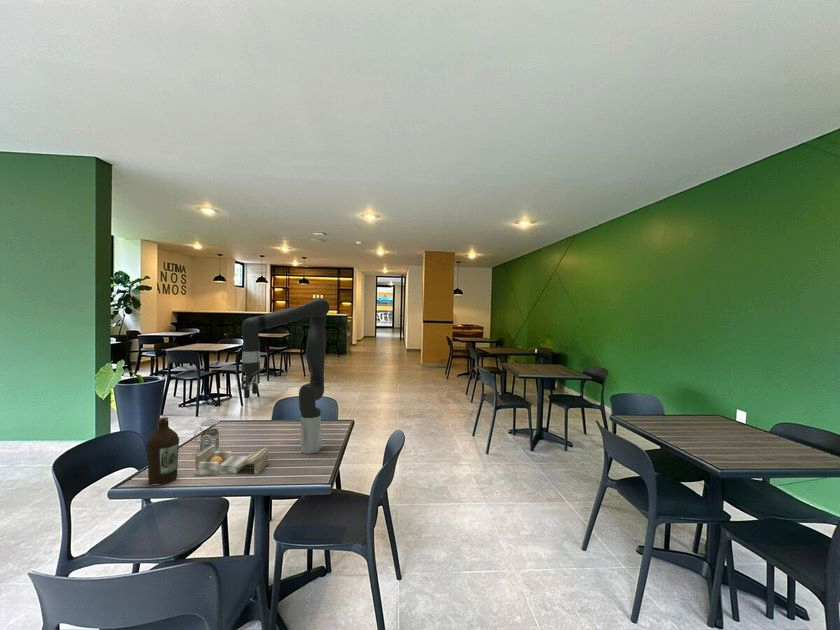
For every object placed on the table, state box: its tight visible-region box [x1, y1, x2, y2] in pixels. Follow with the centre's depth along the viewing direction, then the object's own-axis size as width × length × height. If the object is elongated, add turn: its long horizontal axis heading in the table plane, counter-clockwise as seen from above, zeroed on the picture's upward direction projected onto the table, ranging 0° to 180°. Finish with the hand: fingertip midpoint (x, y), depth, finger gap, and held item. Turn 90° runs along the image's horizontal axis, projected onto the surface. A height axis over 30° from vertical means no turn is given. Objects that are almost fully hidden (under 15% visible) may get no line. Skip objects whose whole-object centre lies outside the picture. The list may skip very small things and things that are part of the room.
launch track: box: [194, 444, 269, 476], centre depth 158 cm, size 26×12×8 cm, turn 91°
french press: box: [193, 399, 222, 455], centre depth 176 cm, size 10×12×25 cm
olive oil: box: [146, 416, 180, 485], centre depth 146 cm, size 11×11×25 cm
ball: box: [210, 456, 223, 465], centre depth 157 cm, size 5×5×5 cm
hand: (250, 395), depth 168 cm, fingers open, 8 cm apart
